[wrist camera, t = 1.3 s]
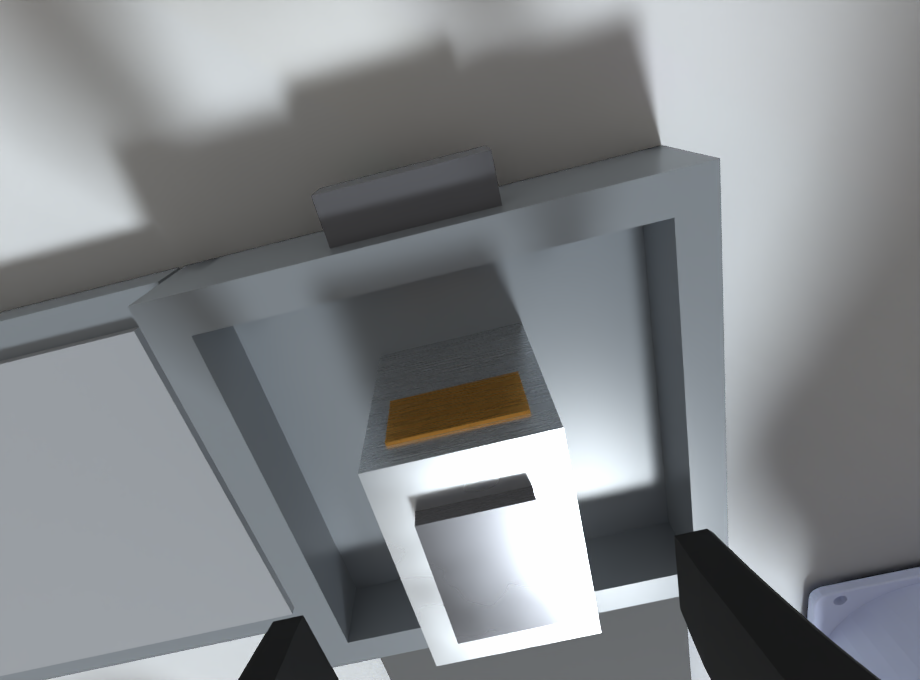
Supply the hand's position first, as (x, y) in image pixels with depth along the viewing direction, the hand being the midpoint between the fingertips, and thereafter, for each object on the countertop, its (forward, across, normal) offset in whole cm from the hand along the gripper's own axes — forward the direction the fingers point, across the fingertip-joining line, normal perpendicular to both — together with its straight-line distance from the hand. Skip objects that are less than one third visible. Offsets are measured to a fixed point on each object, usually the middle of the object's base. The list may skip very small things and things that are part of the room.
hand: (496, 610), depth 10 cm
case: (+7, +7, 0) cm, 10 cm away
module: (+6, 0, 0) cm, 6 cm away
